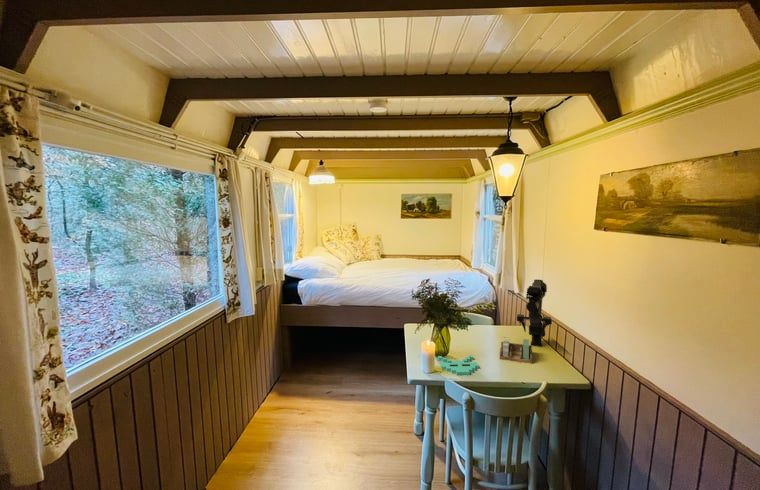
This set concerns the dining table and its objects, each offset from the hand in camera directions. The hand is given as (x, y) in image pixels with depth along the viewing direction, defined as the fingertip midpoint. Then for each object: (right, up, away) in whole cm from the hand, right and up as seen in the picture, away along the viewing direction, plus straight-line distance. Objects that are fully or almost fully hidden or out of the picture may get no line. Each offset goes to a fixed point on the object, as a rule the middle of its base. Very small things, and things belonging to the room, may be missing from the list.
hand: (533, 333), depth 200 cm
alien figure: (-48, -15, -14) cm, 52 cm away
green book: (-7, -11, -6) cm, 15 cm away
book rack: (-12, -13, -4) cm, 18 cm away
